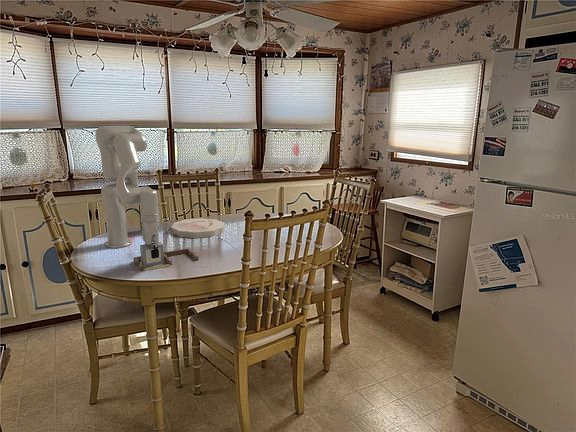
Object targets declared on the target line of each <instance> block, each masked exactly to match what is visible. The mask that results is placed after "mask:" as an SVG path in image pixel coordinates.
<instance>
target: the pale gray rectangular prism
mask: <svg viewBox="0 0 576 432" xmlns="http://www.w3.org/2000/svg"><path fill="white" fill-rule="evenodd" d="M153 246H154V245H153ZM139 247H140V248H139V249H140V256H141V261H140V263H141V264H142V265H143V268H145V267H146V268H147V267H150V266H151V267H152V266H155V265H156V266H158V265H163V264H164V263H165V260H164V253H163V252H164V244H163V243H162V241H159V243H158V247H159V258H153V259H152V258H151V250H152V248H151V244H149V245H147V244H146V243H144V244H140V245H139Z"/></svg>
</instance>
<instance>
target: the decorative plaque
mask: <svg viewBox="0 0 576 432" xmlns="http://www.w3.org/2000/svg"><path fill="white" fill-rule="evenodd" d="M225 226H226V225H225V222H224V221H221V220H218V219H215V218H214V219H213V218H203V217H201V218H192V219H191V218H186V219H183V220H179V221H176V222H173V224H172V225H171V226H170V227H171V228H170V229H171V234H173V235H176V236H177V237H181V238H190V239H191V238H193V239H200V238H213V237H216V236H218V235H221V234H224V233H225Z"/></svg>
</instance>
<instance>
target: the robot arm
mask: <svg viewBox="0 0 576 432" xmlns="http://www.w3.org/2000/svg"><path fill="white" fill-rule="evenodd" d="M94 136H95V142H96V144H97V147H98V150H99V152H100V159H101V169H102V176H103V178H104V179H105V180H106V181H109V182H111V181H113V183H108V184H105V185H103V186H102V187H101V190H100V194H101V198H102V201H103V206H104V211H105V214H104V215H105V223H106V234H107V241H105V243H104V245H105V247H106V248H110V249H117V248H118V249H120V248H125V247H128V246H130V245H132V240H131V239H129V235H128V233H129V232H128V224H127V223H128V222H127V211H126V208H125V207H124V206H128V207H129V206H134V205H135V206H136V205H140V213H141V222H142V232H141V233H142V234H141V235H142V241H143V242H144V244H147V245H149V244H151V248H152V250H151V258H152V259H153V258H159V247H158V243H159V242H160V237H159V232H158V225H157V222H158V221H159V222H160V210H159V211H158V204H159V198H158V191H157V190H156V189H154V188H153V189H152V188H151V187H149V186H139V181H138V179H139V178H138V169H139V168H140V167H141V160H140V158H139V154H138V153H139V152H141V153H142V152H145V151H146V149H147V148H148V143H147V139H146V138H145V136H144V134H143V133H142V132H141V131H139V130H138V129H137V128H135V127H134V126H131V125H104V126H99V127H97V129H96V130H95V135H94ZM114 181H116V182H114ZM121 203H122V204H123V205H124V206H123V205H122V204H121ZM153 245H154V246H153Z"/></svg>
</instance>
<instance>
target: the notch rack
mask: <svg viewBox="0 0 576 432" xmlns="http://www.w3.org/2000/svg"><path fill="white" fill-rule="evenodd" d="M163 253H164V262H166V263H167V264H166V263H165V264H159V265H156V266H155V265H154V266H151V267H150V266H148V267H146V268H145V267H143V265H142V264H141V255H140V256H134V257H133V262H134V264H135V265H136V266H137V268H138V269H139V270H140V271H141V272H142V271H143V272H145V271H151V270H152V271H153V270H157V269H163V268H167V267H171V266H172V265H173V263H172V259H170V258H169V257H172V256H177V255H184V254H188V255H190V256H191V257H192V258H193V259H194V260H195V261H199V259H200V258H199V255H197V254H196V253H195V251H194V252H193V251H192V250H191V248H182V249H176V250H170V251H163Z"/></svg>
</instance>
